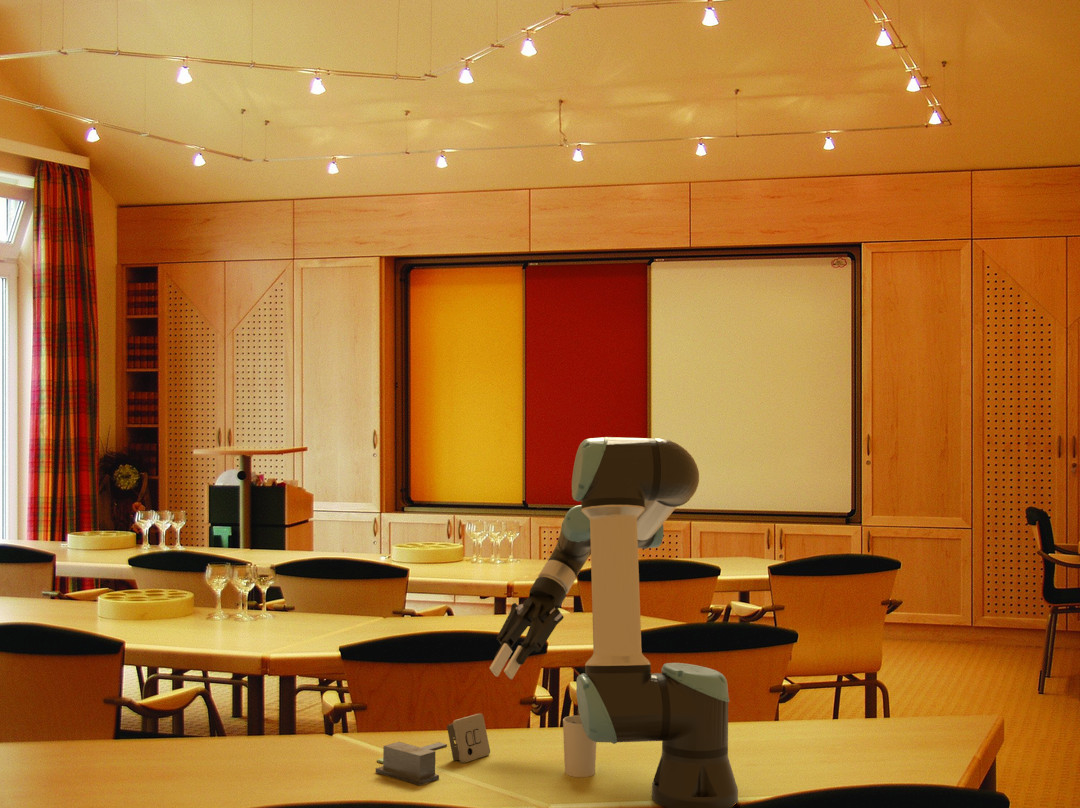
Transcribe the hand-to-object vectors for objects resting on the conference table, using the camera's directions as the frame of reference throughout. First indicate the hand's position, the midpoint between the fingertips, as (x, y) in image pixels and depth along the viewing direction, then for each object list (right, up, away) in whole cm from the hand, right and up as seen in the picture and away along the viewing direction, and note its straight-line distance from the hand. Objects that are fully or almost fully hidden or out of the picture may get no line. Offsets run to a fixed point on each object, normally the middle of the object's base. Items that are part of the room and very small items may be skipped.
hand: (500, 673), depth 224 cm
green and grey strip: (-17, -15, -6) cm, 24 cm away
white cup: (+16, -15, -17) cm, 28 cm away
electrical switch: (-6, -15, -8) cm, 18 cm away
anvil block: (-17, -14, -20) cm, 30 cm away
